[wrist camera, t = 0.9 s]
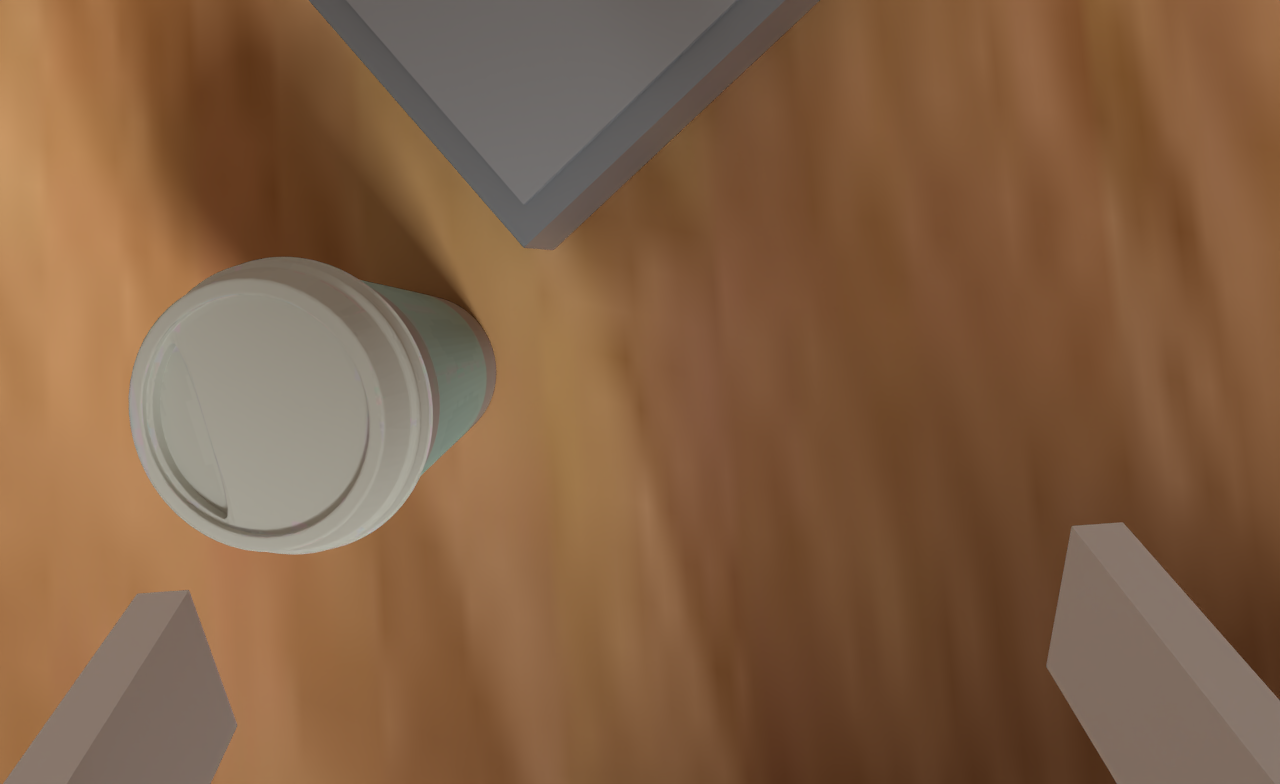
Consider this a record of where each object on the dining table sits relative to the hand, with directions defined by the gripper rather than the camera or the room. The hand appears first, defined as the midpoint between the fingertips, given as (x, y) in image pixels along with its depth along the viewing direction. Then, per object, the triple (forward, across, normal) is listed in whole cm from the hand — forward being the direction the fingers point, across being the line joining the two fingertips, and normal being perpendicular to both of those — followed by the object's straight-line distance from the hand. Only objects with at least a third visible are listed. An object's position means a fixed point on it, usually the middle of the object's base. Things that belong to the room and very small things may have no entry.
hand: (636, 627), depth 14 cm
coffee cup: (+22, +8, +6) cm, 24 cm away
